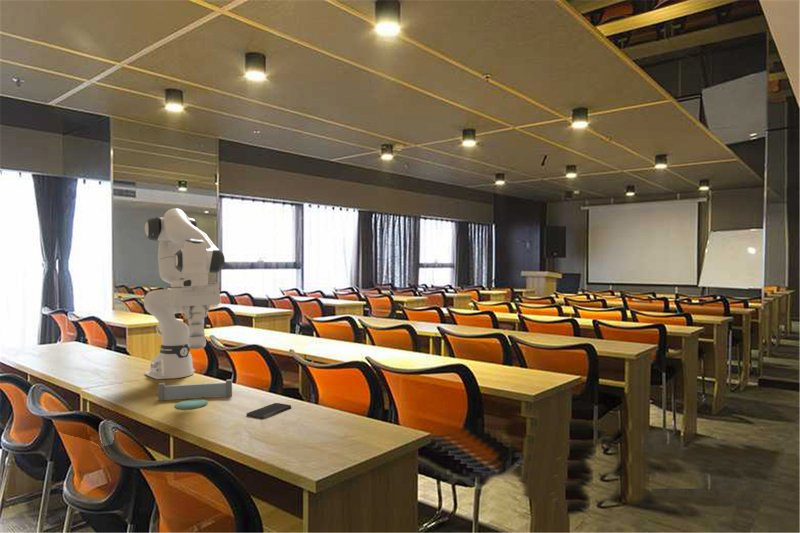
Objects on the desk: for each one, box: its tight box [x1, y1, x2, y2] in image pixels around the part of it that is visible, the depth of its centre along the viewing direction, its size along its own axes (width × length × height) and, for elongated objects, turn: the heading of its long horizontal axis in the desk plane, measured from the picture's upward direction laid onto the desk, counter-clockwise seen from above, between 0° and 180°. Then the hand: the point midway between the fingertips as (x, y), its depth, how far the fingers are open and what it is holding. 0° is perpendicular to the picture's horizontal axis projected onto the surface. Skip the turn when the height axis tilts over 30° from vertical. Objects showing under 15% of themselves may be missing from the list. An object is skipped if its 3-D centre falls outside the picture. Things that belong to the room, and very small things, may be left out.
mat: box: [174, 399, 208, 410], centre depth 184 cm, size 11×11×1 cm
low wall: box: [157, 378, 233, 401], centre depth 194 cm, size 26×2×6 cm, turn 103°
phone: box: [246, 402, 292, 420], centre depth 176 cm, size 8×1×15 cm
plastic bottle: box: [187, 300, 207, 350], centre depth 195 cm, size 6×7×20 cm
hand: (196, 317), depth 195 cm, fingers closed on plastic bottle, 6 cm apart
